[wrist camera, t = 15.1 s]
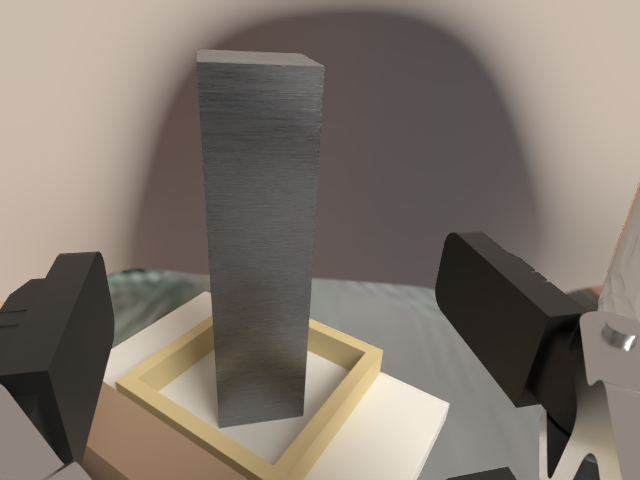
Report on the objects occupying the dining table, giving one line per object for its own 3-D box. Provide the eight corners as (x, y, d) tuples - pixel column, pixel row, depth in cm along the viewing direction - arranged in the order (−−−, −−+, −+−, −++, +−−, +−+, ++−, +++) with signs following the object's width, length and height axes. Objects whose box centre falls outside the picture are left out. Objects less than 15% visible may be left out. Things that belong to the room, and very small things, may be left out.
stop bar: (219, 428, 18) (196, 61, 12) (216, 368, 21) (197, 49, 15) (303, 416, 19) (324, 66, 13) (289, 359, 22) (301, 53, 16)
